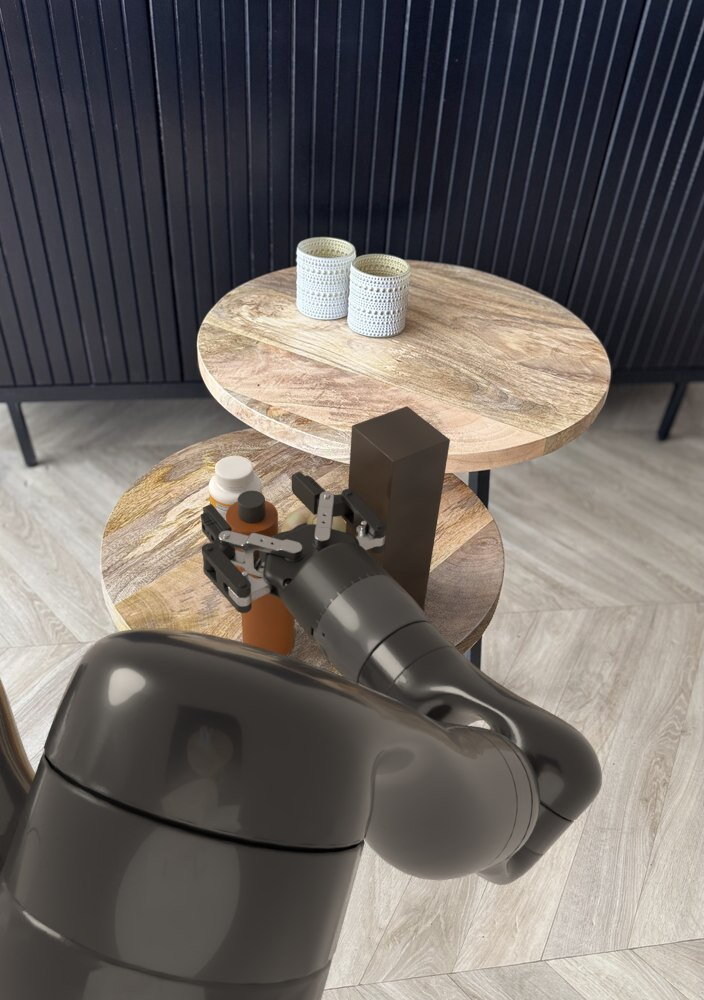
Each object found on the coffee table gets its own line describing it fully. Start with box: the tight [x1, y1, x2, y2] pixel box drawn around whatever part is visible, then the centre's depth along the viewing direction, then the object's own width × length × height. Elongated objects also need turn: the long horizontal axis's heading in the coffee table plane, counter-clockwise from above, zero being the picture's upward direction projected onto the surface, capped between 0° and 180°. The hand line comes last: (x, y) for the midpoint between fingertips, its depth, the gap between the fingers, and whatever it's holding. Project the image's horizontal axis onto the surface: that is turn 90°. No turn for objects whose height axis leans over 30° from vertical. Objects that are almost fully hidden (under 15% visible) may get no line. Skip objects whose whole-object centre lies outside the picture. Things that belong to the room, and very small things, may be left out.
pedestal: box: [345, 405, 451, 612], centre depth 76 cm, size 6×6×22 cm
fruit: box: [279, 505, 346, 533], centre depth 84 cm, size 8×7×8 cm
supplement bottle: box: [208, 455, 263, 520], centre depth 86 cm, size 6×6×10 cm
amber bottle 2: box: [239, 550, 296, 656], centre depth 75 cm, size 5×5×12 cm
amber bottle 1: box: [226, 491, 279, 570], centre depth 80 cm, size 5×5×12 cm
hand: (252, 496), depth 69 cm, fingers open, 8 cm apart
